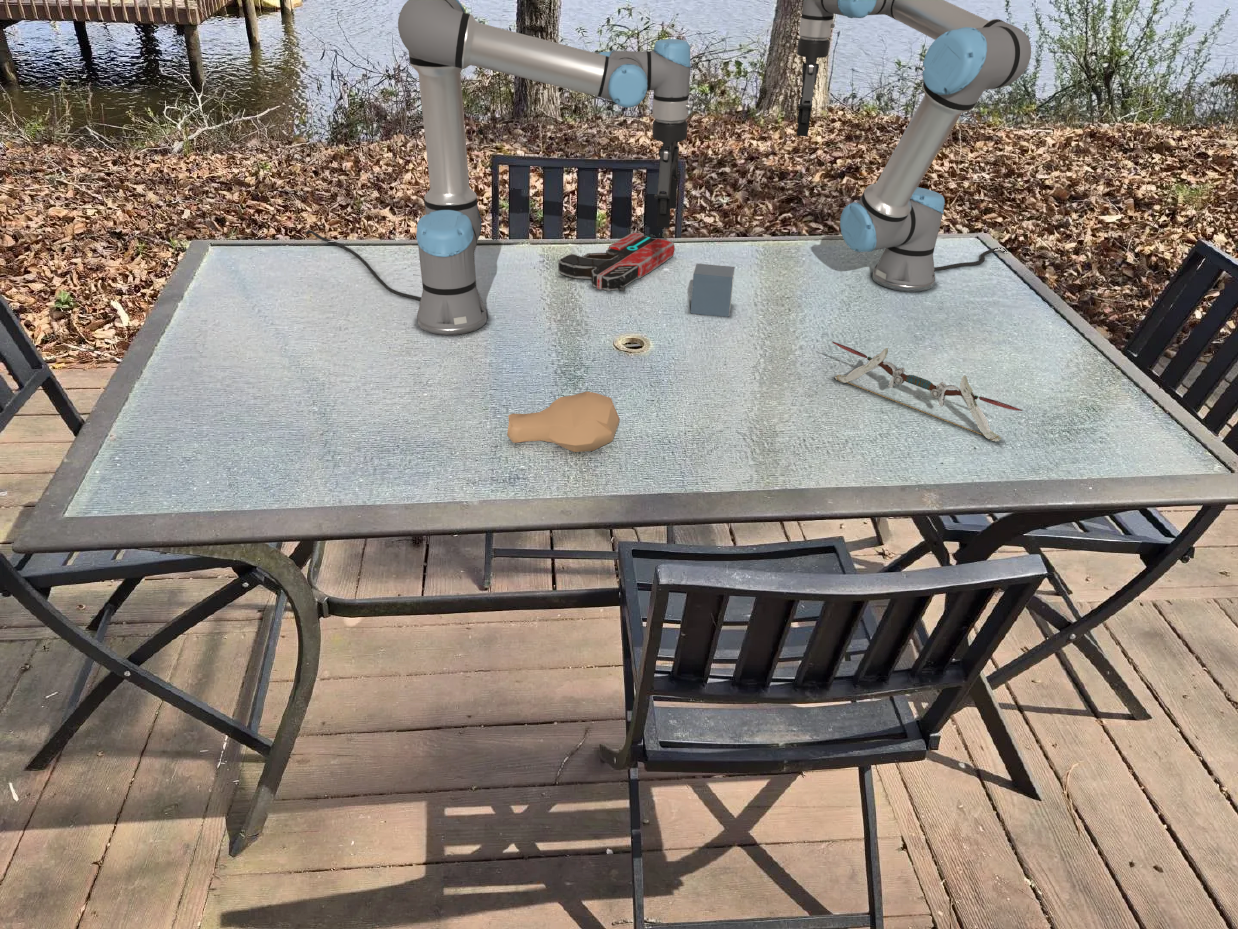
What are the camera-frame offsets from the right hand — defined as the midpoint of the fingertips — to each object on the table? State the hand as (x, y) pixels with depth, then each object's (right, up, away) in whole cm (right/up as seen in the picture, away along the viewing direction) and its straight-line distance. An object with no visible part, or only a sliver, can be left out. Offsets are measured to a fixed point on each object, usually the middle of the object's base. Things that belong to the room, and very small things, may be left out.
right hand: (802, 129), depth 224 cm
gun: (-47, -35, +3) cm, 59 cm away
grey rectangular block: (-25, -49, -18) cm, 58 cm away
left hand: (-36, -29, -24) cm, 52 cm away
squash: (-57, -82, -68) cm, 120 cm away
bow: (+10, -75, -55) cm, 93 cm away
